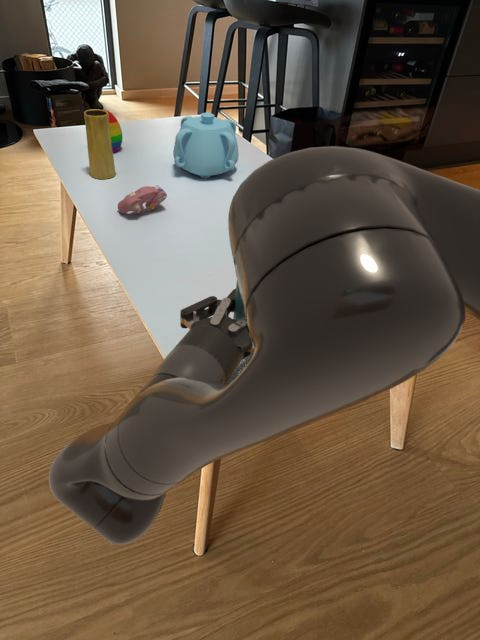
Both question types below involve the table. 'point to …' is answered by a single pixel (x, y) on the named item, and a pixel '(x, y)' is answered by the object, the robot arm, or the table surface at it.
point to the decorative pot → (206, 145)
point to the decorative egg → (115, 132)
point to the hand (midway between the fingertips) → (253, 296)
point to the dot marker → (238, 305)
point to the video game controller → (142, 199)
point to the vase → (99, 144)
